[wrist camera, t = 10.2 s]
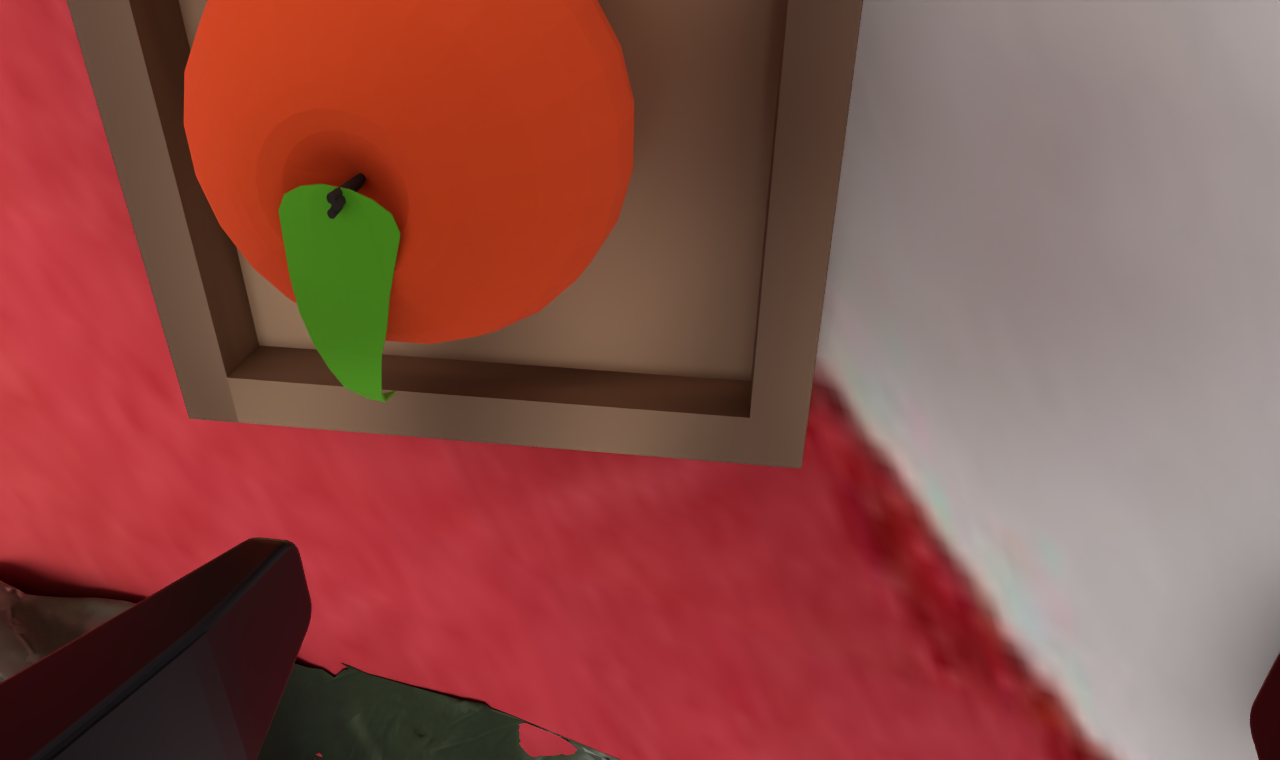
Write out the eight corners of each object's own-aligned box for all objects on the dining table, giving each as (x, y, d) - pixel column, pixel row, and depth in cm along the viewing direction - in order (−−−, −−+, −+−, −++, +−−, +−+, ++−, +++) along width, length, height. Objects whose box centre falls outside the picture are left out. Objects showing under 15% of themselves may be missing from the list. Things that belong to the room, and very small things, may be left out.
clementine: (621, 318, 20) (558, 529, 14) (315, 257, 20) (119, 440, 14) (687, -85, 16) (639, -35, 10) (298, -157, 16) (8, -153, 10)
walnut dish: (892, -335, 14) (910, -361, 12) (798, 415, 21) (801, 468, 20) (55, -334, 15) (-38, -357, 14) (234, 372, 23) (189, 418, 21)
